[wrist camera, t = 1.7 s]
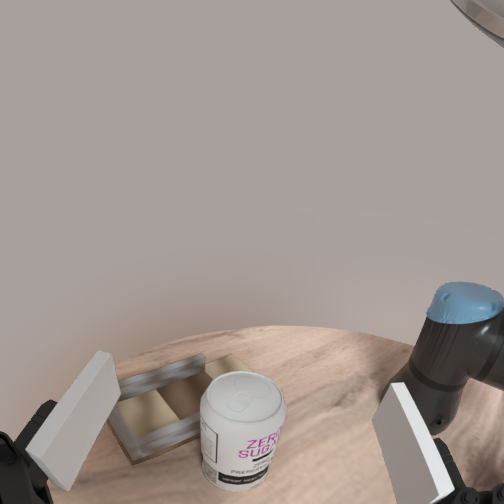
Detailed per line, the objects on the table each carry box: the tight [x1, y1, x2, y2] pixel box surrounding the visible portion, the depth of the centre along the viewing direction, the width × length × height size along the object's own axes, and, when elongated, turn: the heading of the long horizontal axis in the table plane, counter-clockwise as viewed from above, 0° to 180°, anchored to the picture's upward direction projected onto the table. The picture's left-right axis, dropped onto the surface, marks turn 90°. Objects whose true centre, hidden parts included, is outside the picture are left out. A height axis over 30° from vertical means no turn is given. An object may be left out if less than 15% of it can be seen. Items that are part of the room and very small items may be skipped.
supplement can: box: [200, 371, 287, 492], centre depth 26 cm, size 8×8×15 cm
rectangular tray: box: [107, 353, 254, 465], centre depth 38 cm, size 26×12×4 cm, turn 132°
